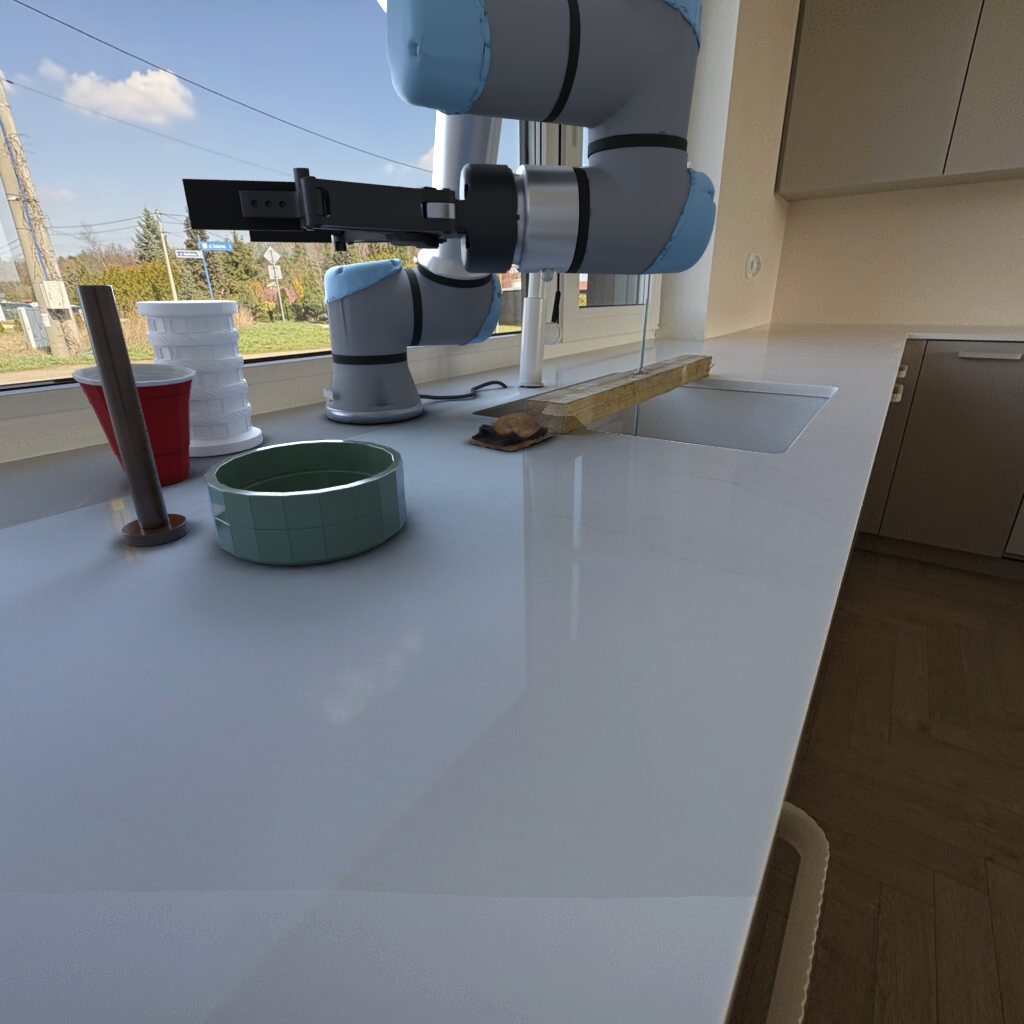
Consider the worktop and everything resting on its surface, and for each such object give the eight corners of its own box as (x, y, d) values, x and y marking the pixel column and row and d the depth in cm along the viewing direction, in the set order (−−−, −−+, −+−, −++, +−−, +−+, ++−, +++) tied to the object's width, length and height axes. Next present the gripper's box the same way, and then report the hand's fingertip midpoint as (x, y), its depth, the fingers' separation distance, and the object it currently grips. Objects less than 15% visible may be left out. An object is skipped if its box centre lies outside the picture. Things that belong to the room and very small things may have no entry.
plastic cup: (167, 499, 57) (138, 377, 52) (77, 491, 59) (41, 374, 54) (237, 467, 67) (217, 362, 62) (157, 461, 69) (133, 360, 64)
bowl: (305, 490, 59) (297, 434, 57) (437, 510, 54) (434, 449, 52) (175, 550, 46) (157, 480, 44) (334, 585, 41) (323, 507, 38)
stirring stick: (162, 520, 52) (103, 284, 44) (201, 528, 50) (147, 284, 43) (111, 541, 48) (36, 285, 40) (152, 550, 46) (82, 285, 38)
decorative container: (218, 431, 83) (192, 299, 76) (281, 438, 79) (260, 300, 72) (146, 451, 73) (108, 302, 66) (213, 460, 69) (181, 303, 62)
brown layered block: (511, 428, 85) (511, 404, 84) (558, 437, 80) (559, 411, 79) (463, 442, 77) (462, 415, 76) (512, 453, 72) (512, 424, 71)
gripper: (544, 272, 34) (165, 270, 31) (493, 274, 57) (271, 273, 54) (548, 124, 31) (131, 106, 28) (492, 189, 54) (258, 182, 51)
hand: (222, 215), depth 41 cm, fingers open, 13 cm apart
